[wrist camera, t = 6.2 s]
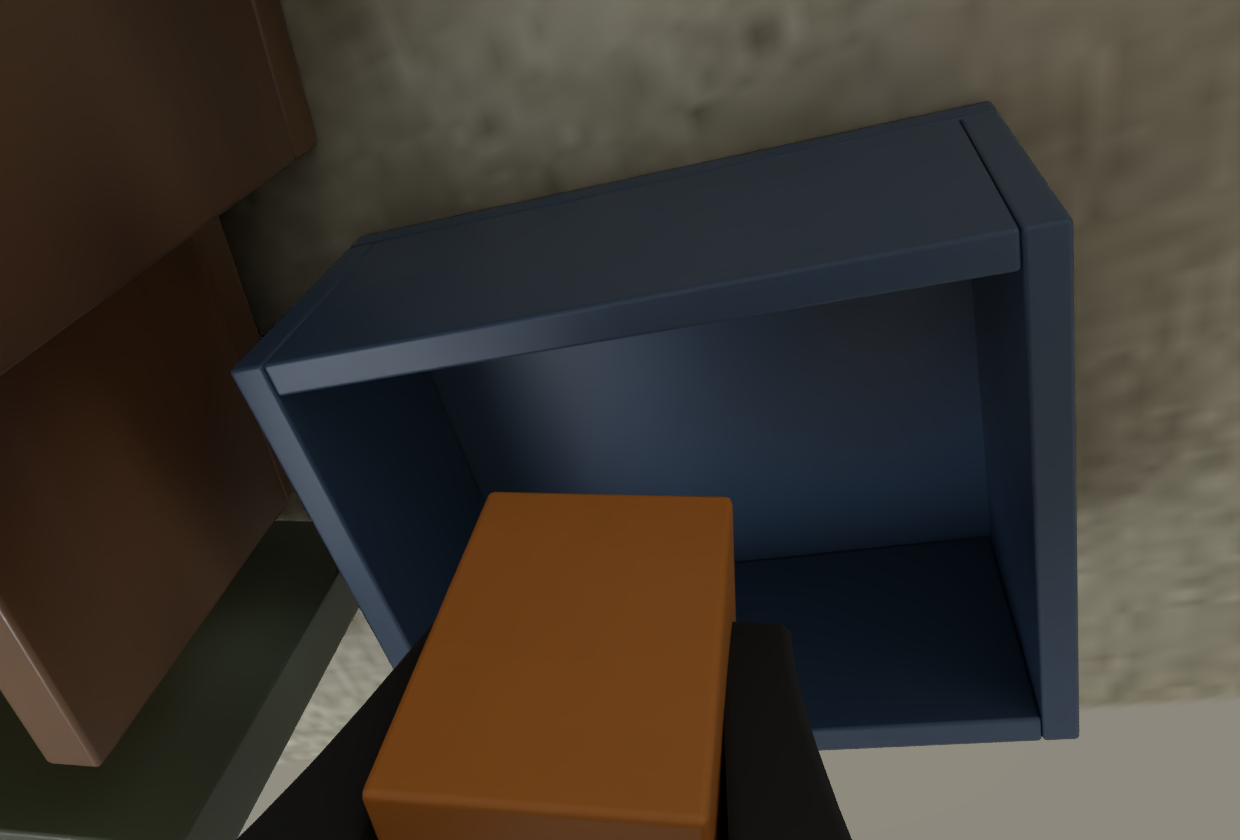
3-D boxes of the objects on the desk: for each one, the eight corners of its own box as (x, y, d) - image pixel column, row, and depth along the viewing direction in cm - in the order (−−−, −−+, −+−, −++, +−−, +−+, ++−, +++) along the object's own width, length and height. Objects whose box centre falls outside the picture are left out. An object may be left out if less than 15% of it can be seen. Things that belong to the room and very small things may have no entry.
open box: (991, 99, 13) (1074, 218, 9) (1015, 535, 17) (1080, 740, 13) (359, 235, 16) (227, 371, 12) (510, 585, 20) (447, 769, 16)
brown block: (740, 751, 13) (723, 1086, 9) (539, 737, 13) (456, 1053, 10) (732, 493, 10) (708, 823, 7) (487, 488, 11) (356, 795, 7)
